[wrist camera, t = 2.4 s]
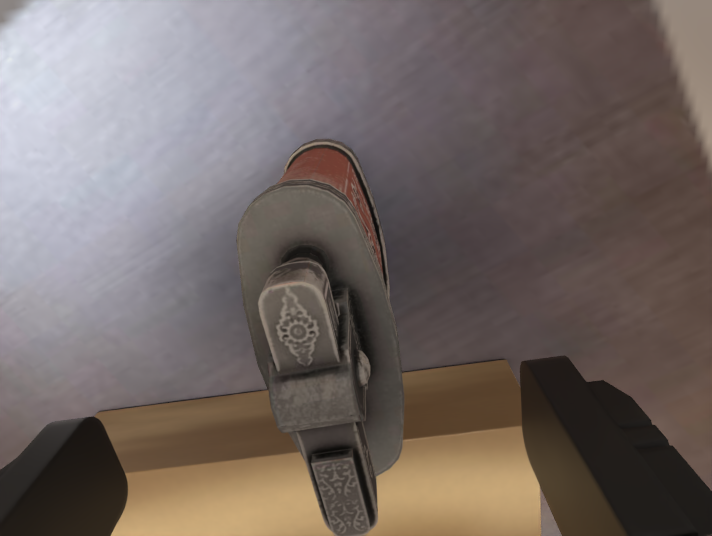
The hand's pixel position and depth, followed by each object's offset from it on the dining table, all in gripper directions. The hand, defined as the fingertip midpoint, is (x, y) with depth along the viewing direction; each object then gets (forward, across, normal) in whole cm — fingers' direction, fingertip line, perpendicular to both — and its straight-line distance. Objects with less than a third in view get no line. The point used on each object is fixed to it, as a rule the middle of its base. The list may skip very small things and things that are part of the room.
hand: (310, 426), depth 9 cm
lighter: (+10, 0, 0) cm, 10 cm away
